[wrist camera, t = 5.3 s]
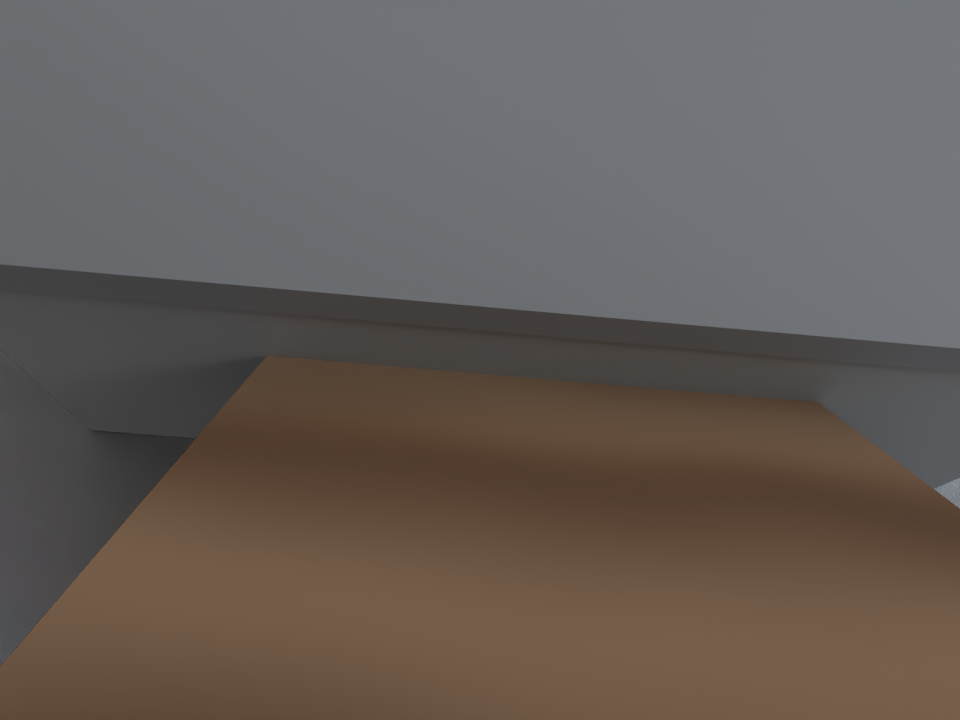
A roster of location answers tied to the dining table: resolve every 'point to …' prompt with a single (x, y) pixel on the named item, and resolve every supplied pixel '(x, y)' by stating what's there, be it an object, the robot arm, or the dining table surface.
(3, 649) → the dining table surface
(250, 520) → the wooden step bench
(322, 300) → the grey lidded box
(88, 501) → the dining table surface
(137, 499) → the dining table surface
